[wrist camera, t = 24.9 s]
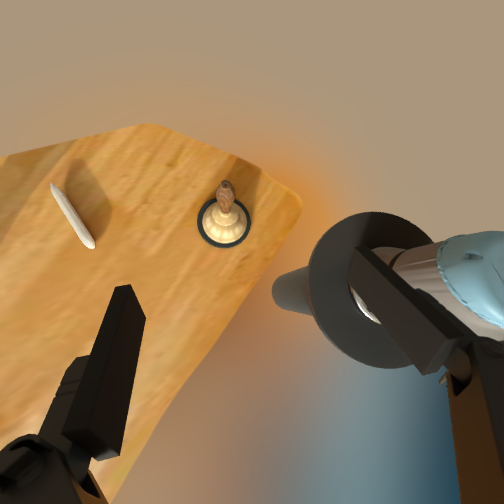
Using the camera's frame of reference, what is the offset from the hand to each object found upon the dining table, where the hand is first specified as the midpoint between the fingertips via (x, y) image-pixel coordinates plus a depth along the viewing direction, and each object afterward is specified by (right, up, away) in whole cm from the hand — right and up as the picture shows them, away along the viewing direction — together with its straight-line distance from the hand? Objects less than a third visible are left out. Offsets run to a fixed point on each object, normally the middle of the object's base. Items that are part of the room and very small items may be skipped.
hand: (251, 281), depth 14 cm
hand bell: (-5, +7, +31) cm, 32 cm away
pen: (-31, +8, +28) cm, 43 cm away
